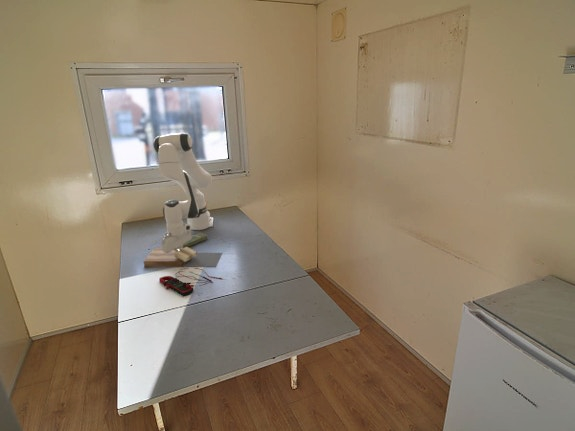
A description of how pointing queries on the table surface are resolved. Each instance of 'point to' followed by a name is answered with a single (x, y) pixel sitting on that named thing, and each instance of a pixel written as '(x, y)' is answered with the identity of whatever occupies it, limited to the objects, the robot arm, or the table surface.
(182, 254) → the tile
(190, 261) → the mat
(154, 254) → the platform
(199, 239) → the handheld radio
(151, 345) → the table surface
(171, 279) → the digital clamp meter
